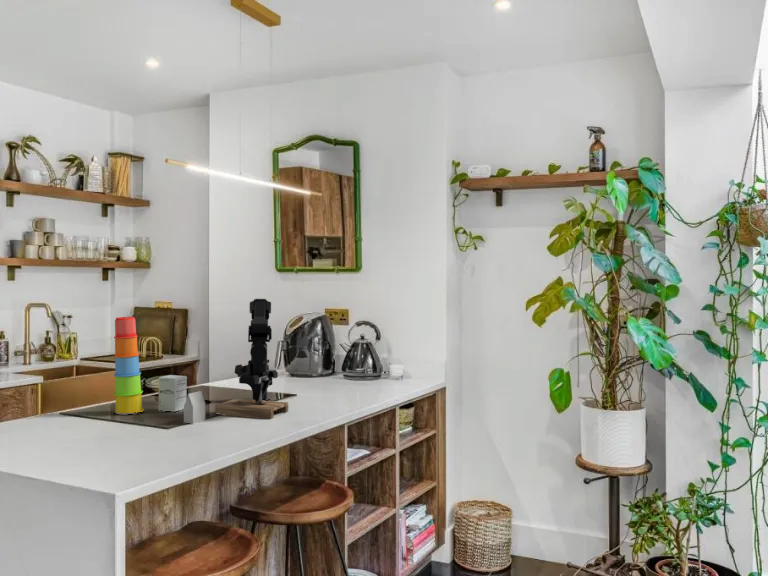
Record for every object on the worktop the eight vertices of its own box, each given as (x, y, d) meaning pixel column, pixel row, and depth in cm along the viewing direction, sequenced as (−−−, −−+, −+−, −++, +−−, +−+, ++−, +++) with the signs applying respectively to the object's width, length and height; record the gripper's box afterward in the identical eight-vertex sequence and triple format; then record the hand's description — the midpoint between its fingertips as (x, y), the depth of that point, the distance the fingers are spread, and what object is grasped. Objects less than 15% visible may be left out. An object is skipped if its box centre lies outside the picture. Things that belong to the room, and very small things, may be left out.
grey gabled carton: (205, 420, 234) (205, 391, 234) (192, 424, 228) (193, 394, 228) (196, 419, 236) (196, 390, 235) (183, 423, 229) (183, 393, 229)
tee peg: (255, 411, 250) (256, 384, 250) (267, 412, 248) (267, 384, 248) (249, 413, 245) (249, 385, 245) (261, 414, 244) (261, 386, 244)
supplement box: (157, 411, 249) (157, 377, 249) (170, 408, 256) (170, 374, 256) (174, 413, 247) (175, 378, 247) (187, 409, 254) (187, 375, 254)
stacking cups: (138, 415, 242) (138, 317, 241) (109, 415, 242) (109, 317, 241) (148, 410, 252) (148, 316, 252) (120, 410, 252) (120, 316, 252)
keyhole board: (235, 408, 257) (235, 398, 257) (288, 411, 251) (288, 402, 251) (215, 414, 244) (215, 405, 244) (270, 419, 238) (270, 408, 238)
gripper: (251, 353, 258) (251, 395, 258) (225, 359, 240) (225, 403, 240) (278, 355, 255) (278, 397, 255) (254, 360, 237) (253, 405, 237)
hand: (258, 400), depth 247 cm, fingers closed on tee peg, 2 cm apart
